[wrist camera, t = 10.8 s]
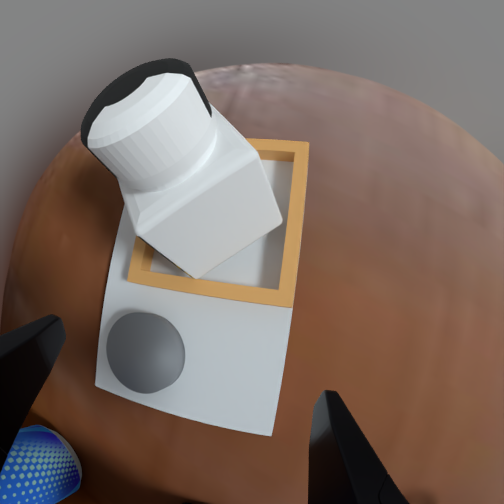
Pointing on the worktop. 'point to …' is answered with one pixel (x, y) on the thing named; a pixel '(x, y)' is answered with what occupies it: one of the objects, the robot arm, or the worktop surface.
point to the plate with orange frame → (208, 316)
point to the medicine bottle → (180, 167)
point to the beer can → (39, 468)
